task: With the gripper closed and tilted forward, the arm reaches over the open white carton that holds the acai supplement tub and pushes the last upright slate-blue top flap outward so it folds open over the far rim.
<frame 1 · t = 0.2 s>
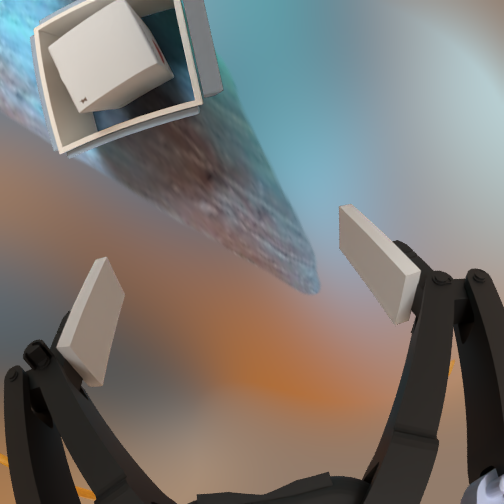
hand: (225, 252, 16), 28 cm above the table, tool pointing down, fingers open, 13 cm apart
flap: (191, 7, 15), point 19 cm above the table, hinge at 0.0°
supplement box: (134, 67, 31), resting in carton
carton: (134, 67, 31), on the table
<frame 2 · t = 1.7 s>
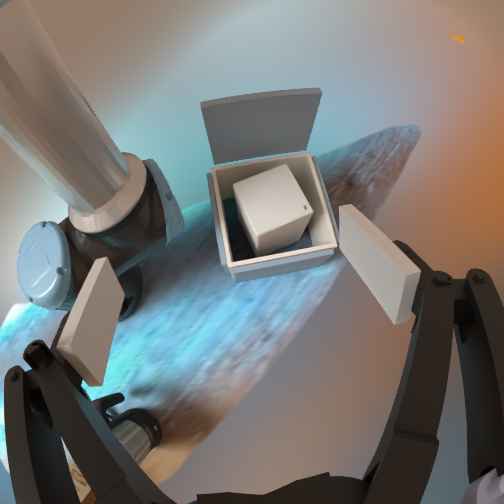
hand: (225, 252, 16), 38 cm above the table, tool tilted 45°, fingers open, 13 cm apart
flap: (261, 128, 38), point 19 cm above the table, hinge at 0.0°
supplement box: (268, 229, 55), resting in carton
milk frother: (123, 426, 46), on the table
carton: (268, 228, 55), on the table
coffeecake box: (76, 485, 42), on the table
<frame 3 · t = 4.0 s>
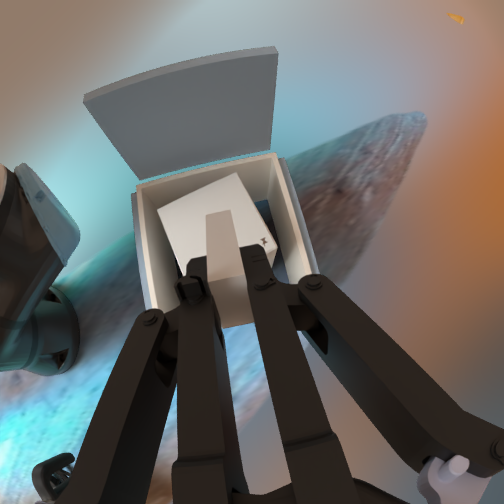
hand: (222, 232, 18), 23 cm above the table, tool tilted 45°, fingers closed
flap: (191, 121, 24), point 19 cm above the table, hinge at 0.0°
supplement box: (228, 259, 41), resting in carton
milk frother: (81, 482, 32), on the table
carton: (228, 259, 41), on the table
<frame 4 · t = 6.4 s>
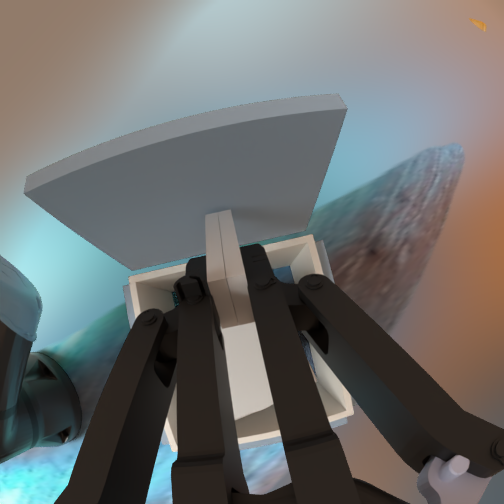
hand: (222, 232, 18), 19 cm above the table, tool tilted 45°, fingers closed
flap: (198, 206, 17), point 19 cm above the table, hinge at 6.4°, touching gripper
supplement box: (244, 339, 34), resting in carton
carton: (244, 339, 34), on the table
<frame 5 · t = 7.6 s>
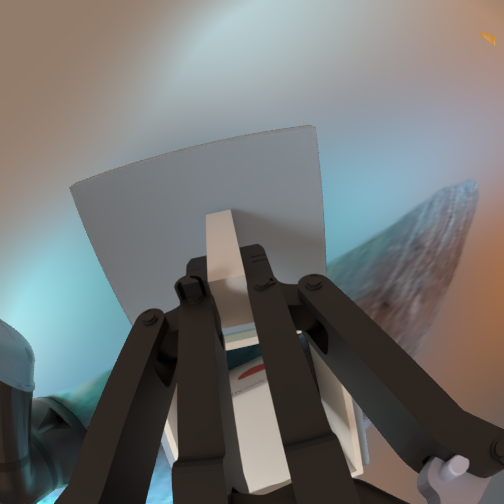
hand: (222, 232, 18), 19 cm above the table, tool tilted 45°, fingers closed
flap: (212, 254, 19), point 17 cm above the table, hinge at 47.6°, touching gripper
supplement box: (257, 393, 33), resting in carton
carton: (257, 394, 33), on the table
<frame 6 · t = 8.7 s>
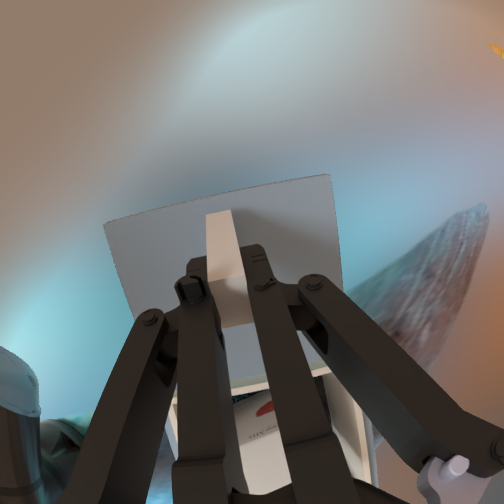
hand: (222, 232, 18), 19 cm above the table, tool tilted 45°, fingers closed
flap: (236, 296, 20), point 16 cm above the table, hinge at 60.0°, touching gripper
supplement box: (270, 421, 32), resting in carton
carton: (270, 421, 32), on the table
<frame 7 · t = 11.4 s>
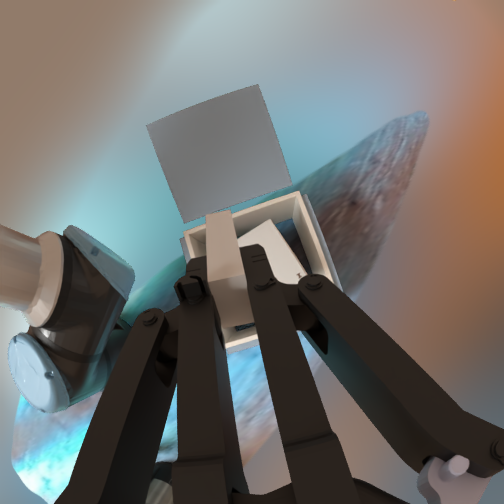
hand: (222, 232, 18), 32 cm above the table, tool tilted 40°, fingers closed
flap: (219, 152, 35), point 16 cm above the table, hinge at 60.0°
supplement box: (265, 274, 49), resting in carton
milk frother: (153, 476, 45), on the table
carton: (265, 274, 49), on the table
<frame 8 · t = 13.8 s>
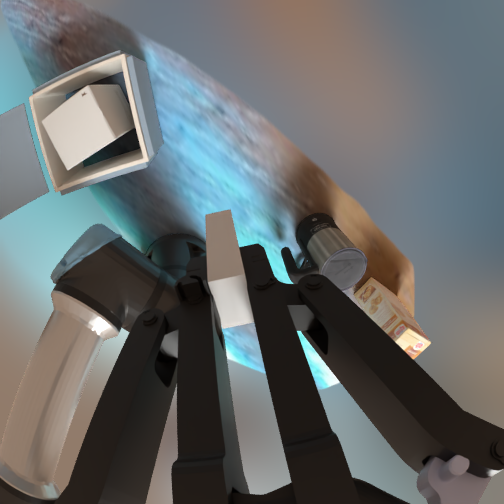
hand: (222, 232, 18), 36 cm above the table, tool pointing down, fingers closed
supplement box: (109, 117, 43), resting in carton
milk frother: (314, 248, 64), on the table
carton: (108, 117, 43), on the table
coffeecake box: (376, 295, 75), on the table
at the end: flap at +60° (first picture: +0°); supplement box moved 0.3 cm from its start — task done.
